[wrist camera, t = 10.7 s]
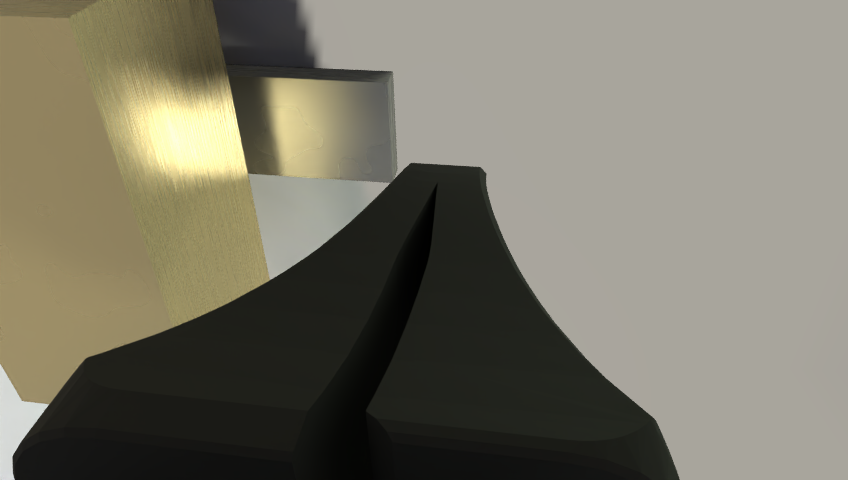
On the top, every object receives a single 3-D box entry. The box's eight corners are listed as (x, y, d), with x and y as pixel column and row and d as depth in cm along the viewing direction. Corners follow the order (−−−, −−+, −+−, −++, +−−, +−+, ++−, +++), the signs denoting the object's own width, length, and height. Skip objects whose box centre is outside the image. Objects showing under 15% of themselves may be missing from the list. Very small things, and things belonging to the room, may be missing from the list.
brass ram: (272, 290, 16) (205, 422, 13) (121, 277, 17) (22, 400, 13) (200, -57, 11) (67, 18, 8) (-8, -60, 12) (-208, 8, 9)
